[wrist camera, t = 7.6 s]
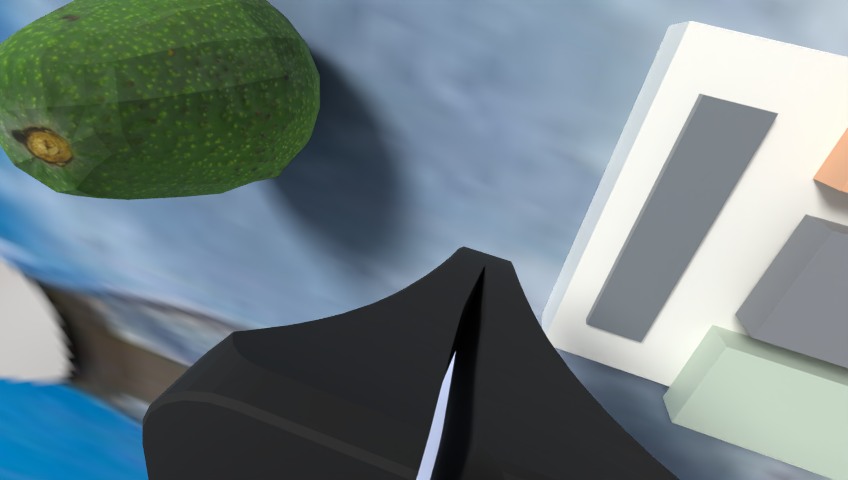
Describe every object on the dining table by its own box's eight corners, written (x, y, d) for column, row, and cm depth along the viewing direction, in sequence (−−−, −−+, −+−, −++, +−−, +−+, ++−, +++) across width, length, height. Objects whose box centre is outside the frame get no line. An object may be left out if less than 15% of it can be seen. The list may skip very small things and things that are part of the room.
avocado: (239, 166, 23) (-16, 262, 13) (188, 8, 20) (-198, -42, 10) (370, 152, 21) (196, 254, 10) (335, -28, 18) (41, -147, 7)
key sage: (845, 460, 18) (869, 492, 17) (662, 397, 19) (671, 422, 18) (920, 391, 16) (954, 420, 15) (712, 324, 17) (726, 346, 16)
